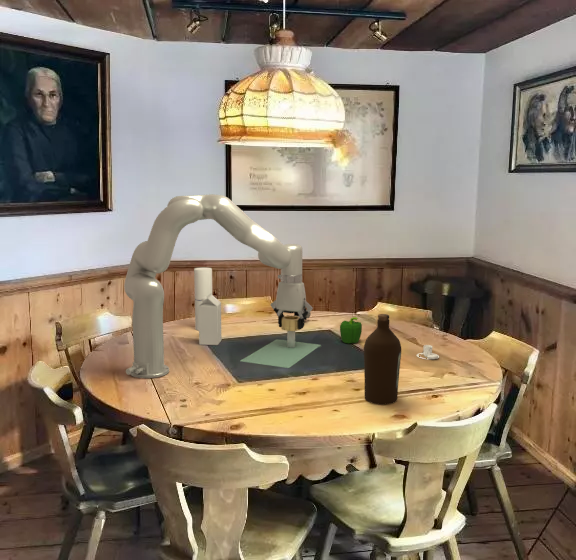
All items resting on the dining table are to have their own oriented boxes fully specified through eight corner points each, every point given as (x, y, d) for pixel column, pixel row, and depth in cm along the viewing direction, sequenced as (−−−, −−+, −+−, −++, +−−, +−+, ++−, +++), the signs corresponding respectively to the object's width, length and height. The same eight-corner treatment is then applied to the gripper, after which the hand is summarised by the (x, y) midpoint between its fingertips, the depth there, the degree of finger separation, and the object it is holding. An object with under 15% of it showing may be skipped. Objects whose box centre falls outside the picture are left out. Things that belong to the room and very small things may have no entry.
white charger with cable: (439, 362, 222) (440, 350, 221) (416, 360, 224) (416, 349, 223) (438, 354, 231) (439, 343, 230) (416, 353, 232) (416, 342, 231)
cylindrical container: (193, 327, 265) (191, 268, 260) (209, 326, 268) (208, 267, 263) (198, 331, 258) (197, 270, 254) (215, 330, 261) (214, 269, 257)
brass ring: (296, 331, 227) (296, 320, 226) (278, 329, 230) (278, 318, 229) (303, 327, 233) (303, 316, 232) (286, 325, 236) (286, 314, 235)
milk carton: (221, 340, 246) (221, 292, 242) (217, 345, 239) (217, 295, 235) (203, 340, 246) (202, 291, 243) (199, 345, 240) (198, 295, 236)
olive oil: (365, 406, 180) (368, 319, 175) (359, 392, 190) (361, 310, 186) (403, 405, 180) (406, 319, 176) (394, 392, 191) (398, 310, 186)
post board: (288, 372, 209) (288, 341, 207) (239, 365, 216) (239, 335, 214) (321, 348, 236) (321, 321, 234) (276, 343, 243) (276, 316, 241)
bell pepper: (334, 341, 245) (335, 316, 243) (349, 338, 250) (350, 313, 249) (350, 346, 239) (351, 320, 237) (365, 342, 244) (366, 317, 242)
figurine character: (297, 323, 280) (277, 326, 267) (298, 305, 279) (279, 308, 266) (310, 325, 276) (291, 328, 263) (311, 307, 275) (292, 310, 263)
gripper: (265, 278, 228) (265, 327, 231) (310, 282, 221) (309, 332, 224) (273, 275, 235) (273, 322, 238) (318, 279, 228) (317, 327, 231)
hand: (291, 327), depth 231 cm, fingers closed on brass ring, 7 cm apart
